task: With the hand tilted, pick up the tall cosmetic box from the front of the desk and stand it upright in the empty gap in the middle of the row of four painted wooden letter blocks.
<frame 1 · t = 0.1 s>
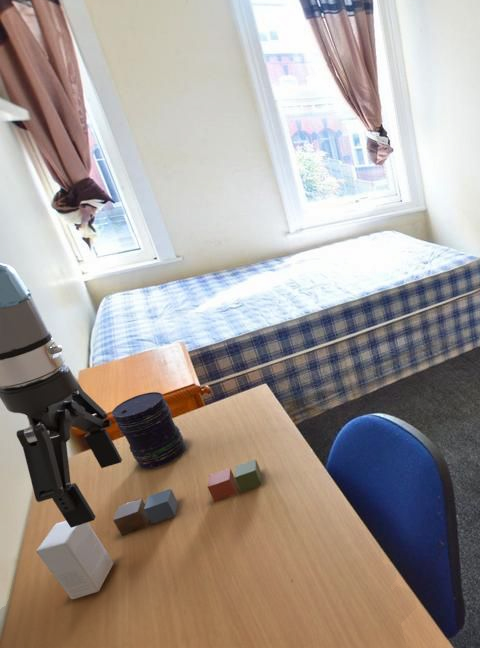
hand: (99, 491, 73), 20 cm above the table, tool pointing down, fingers open, 13 cm apart
cosmetic box: (93, 582, 82), on the table
block c: (225, 491, 100), on the table
block d: (251, 482, 102), on the table
block a: (136, 523, 94), on the table
block b: (165, 513, 95), on the table
storage jar: (163, 455, 113), on the table
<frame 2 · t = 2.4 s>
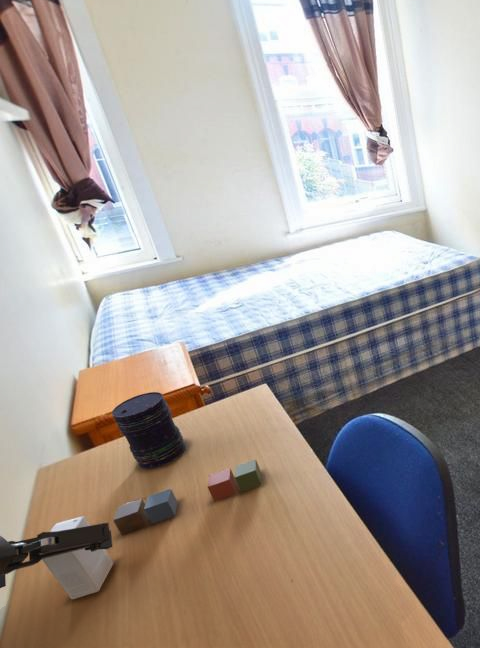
hand: (57, 558, 75), 10 cm above the table, tool tilted 45°, fingers open, 13 cm apart
nothing on the table moved.
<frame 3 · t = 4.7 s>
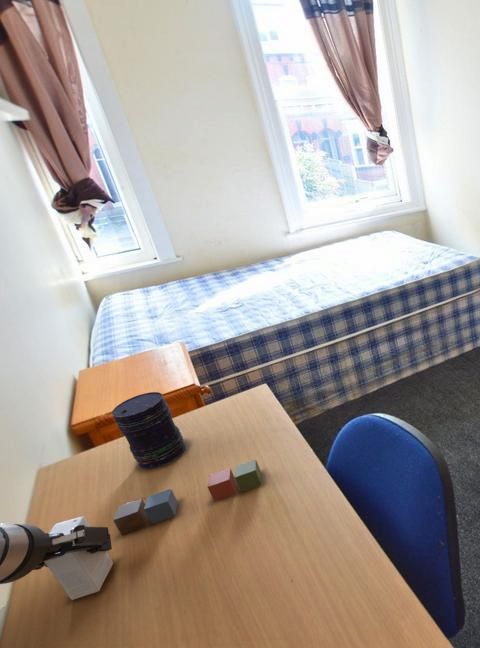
hand: (89, 549, 84), 4 cm above the table, tool tilted 45°, fingers closed on cosmetic box, 5 cm apart
cosmetic box: (93, 582, 82), on the table, touching gripper
everything else where it was.
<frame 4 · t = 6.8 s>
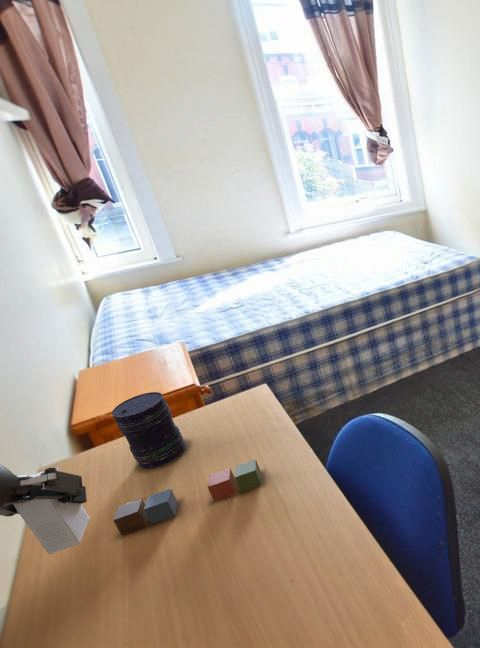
hand: (65, 500, 80), 15 cm above the table, tool tilted 45°, fingers closed on cosmetic box, 4 cm apart
cosmetic box: (70, 537, 79), point 10 cm above the table, touching gripper
everything else where it was.
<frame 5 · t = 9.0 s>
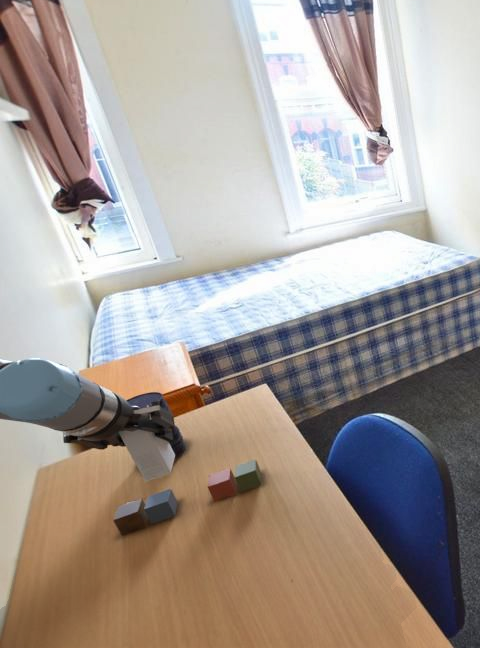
hand: (155, 438, 92), 16 cm above the table, tool tilted 45°, fingers closed on cosmetic box, 4 cm apart
cosmetic box: (161, 470, 90), point 11 cm above the table, touching gripper
everything else where it was.
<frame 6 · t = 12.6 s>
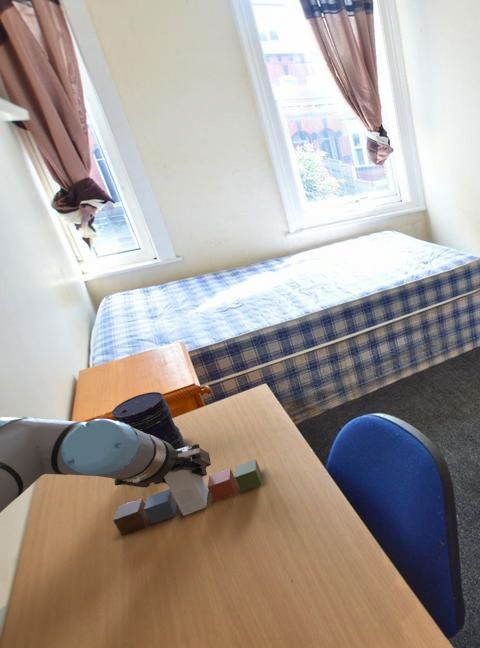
hand: (190, 474, 99), 5 cm above the table, tool tilted 45°, fingers closed on cosmetic box, 4 cm apart
cosmetic box: (196, 503, 98), on the table, touching gripper
everything else where it was.
when the fingers open (5 cm above the table, at t = 12.6 s): cosmetic box stays where it is, on the table.
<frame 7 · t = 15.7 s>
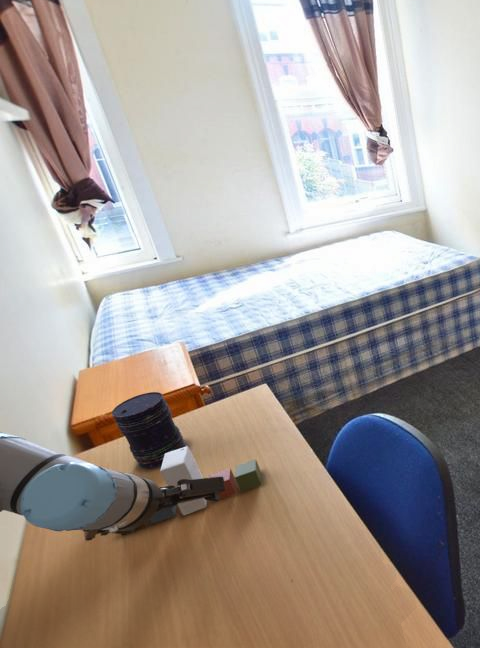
hand: (175, 509, 87), 7 cm above the table, tool tilted 45°, fingers open, 13 cm apart
cosmetic box: (196, 503, 98), on the table
everything else where it was.
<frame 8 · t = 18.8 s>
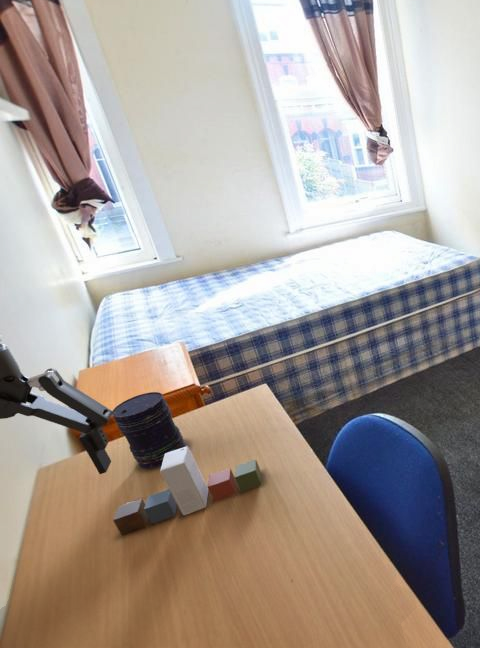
hand: (47, 486, 66), 27 cm above the table, tool pointing down, fingers open, 13 cm apart
nothing on the table moved.
at the end: cosmetic box 0.1 cm from the target spot, on the table; cosmetic box tilted 0°; block c moved 0.0 cm from its start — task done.
